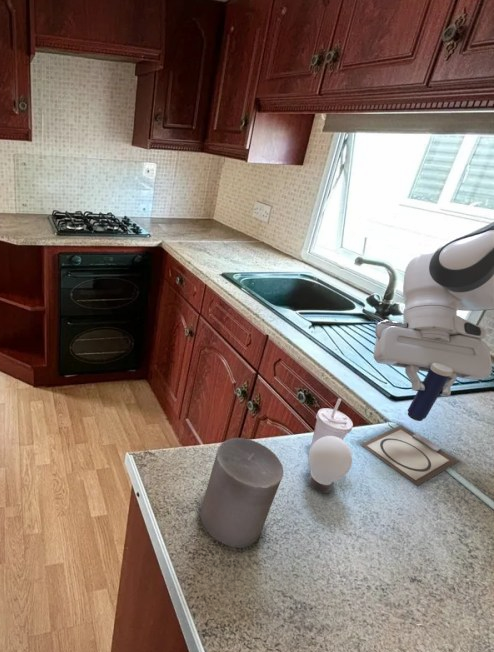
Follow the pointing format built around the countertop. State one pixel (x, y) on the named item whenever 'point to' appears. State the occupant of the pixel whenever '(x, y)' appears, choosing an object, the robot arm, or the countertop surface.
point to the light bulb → (328, 462)
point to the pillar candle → (240, 492)
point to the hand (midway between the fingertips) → (431, 393)
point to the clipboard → (409, 454)
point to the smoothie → (331, 423)
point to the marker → (429, 391)
